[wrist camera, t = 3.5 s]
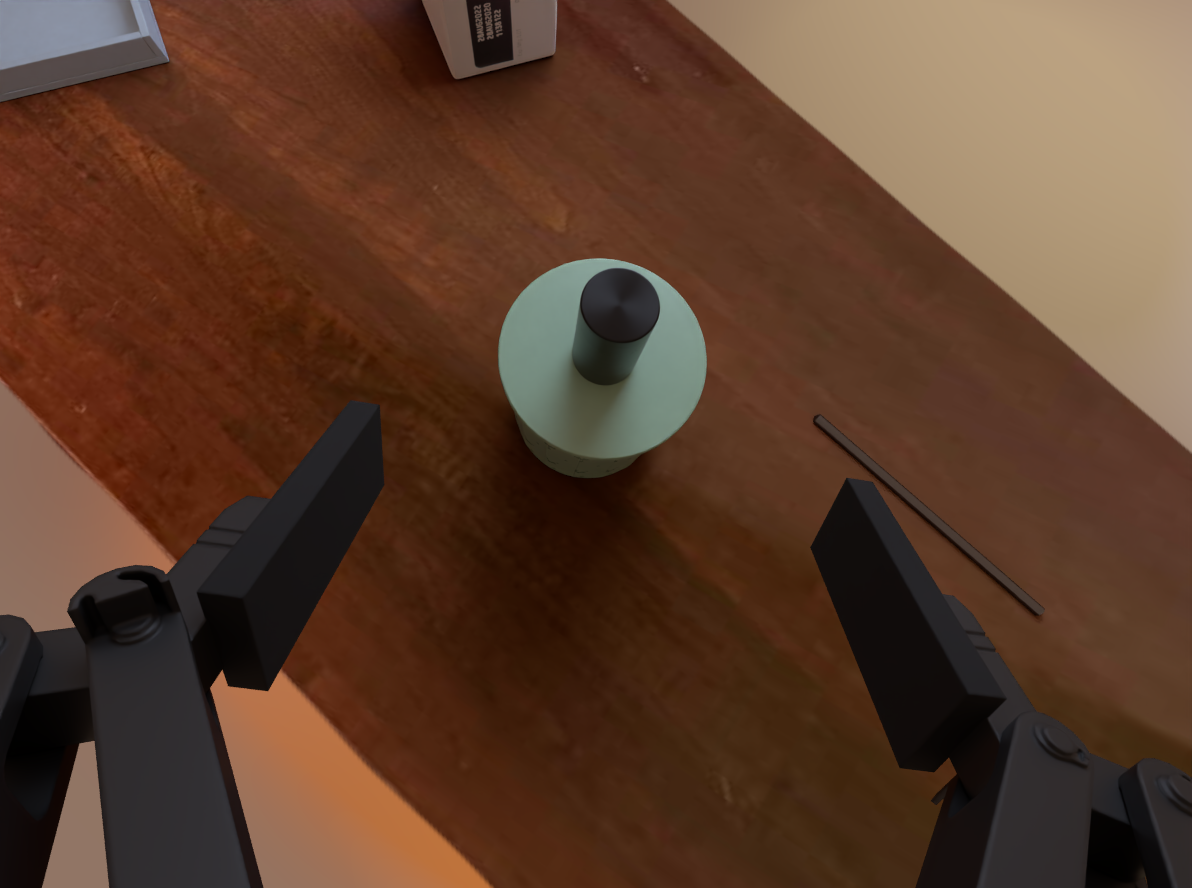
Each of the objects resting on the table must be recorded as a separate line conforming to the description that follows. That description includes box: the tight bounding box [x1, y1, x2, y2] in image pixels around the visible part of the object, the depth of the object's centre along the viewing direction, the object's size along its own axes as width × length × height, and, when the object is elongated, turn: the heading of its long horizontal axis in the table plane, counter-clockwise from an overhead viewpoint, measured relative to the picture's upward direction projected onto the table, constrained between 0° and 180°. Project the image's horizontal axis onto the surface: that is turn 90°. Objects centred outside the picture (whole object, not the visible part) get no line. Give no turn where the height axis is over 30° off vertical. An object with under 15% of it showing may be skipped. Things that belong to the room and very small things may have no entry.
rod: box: [813, 414, 1045, 616], centre depth 37 cm, size 1×19×1 cm, turn 48°
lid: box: [498, 259, 707, 461], centre depth 24 cm, size 10×10×7 cm
